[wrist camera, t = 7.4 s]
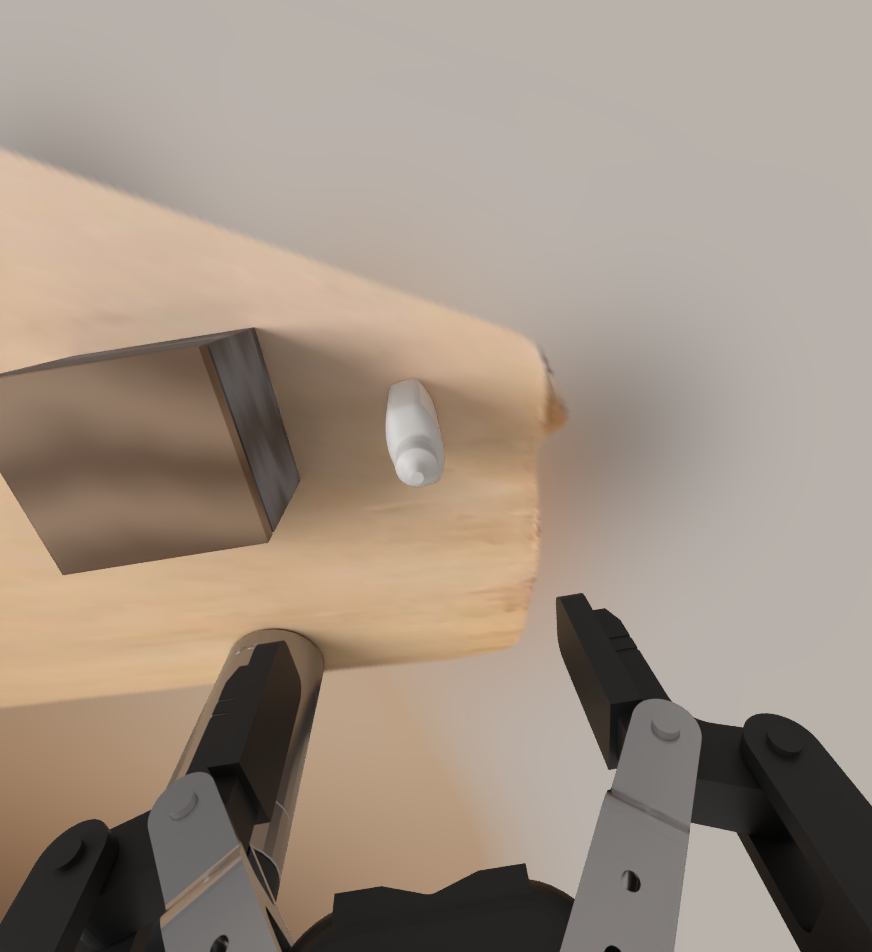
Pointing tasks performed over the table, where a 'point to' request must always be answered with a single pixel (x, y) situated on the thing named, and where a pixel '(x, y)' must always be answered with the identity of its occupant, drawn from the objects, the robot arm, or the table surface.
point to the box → (233, 407)
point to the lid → (128, 460)
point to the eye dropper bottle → (414, 434)
